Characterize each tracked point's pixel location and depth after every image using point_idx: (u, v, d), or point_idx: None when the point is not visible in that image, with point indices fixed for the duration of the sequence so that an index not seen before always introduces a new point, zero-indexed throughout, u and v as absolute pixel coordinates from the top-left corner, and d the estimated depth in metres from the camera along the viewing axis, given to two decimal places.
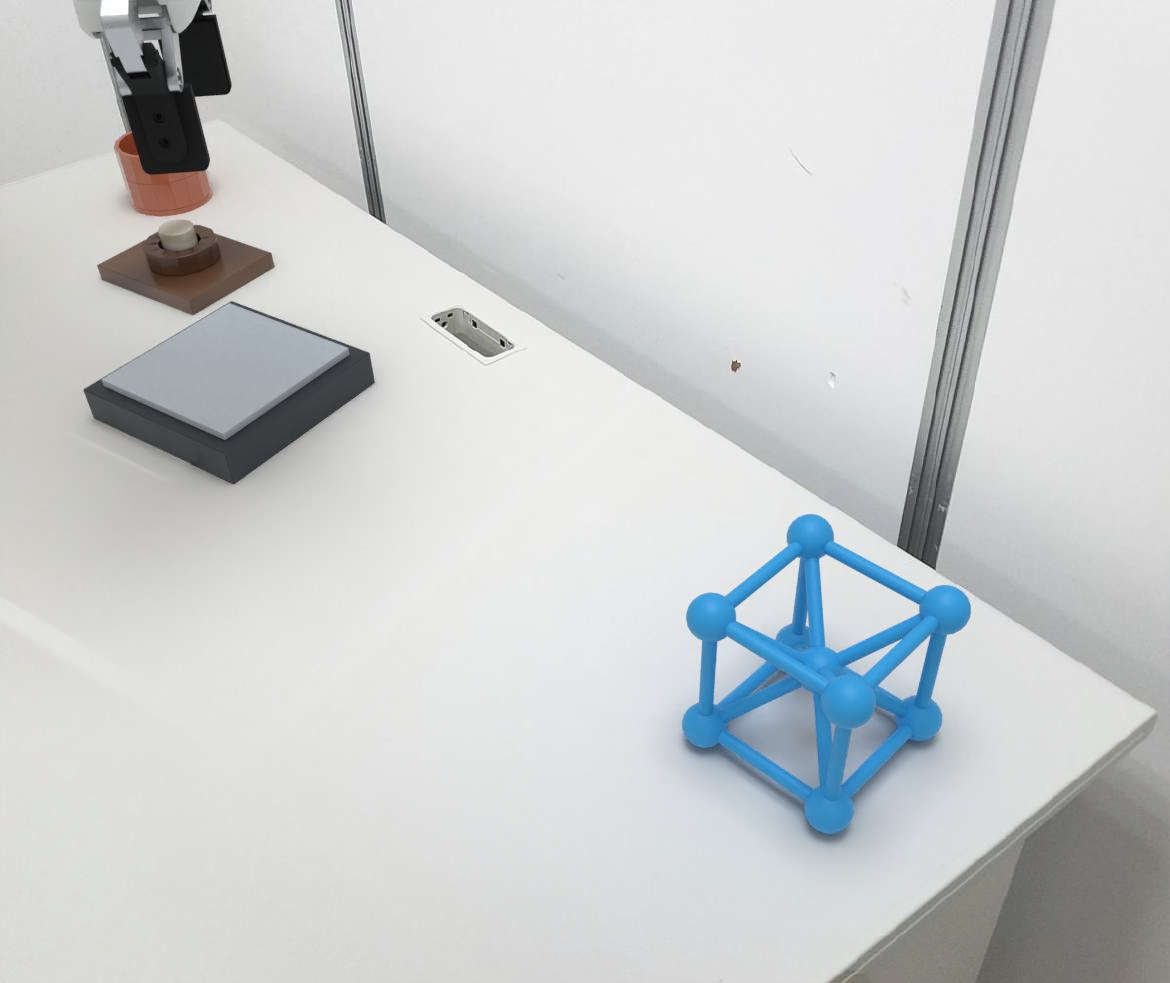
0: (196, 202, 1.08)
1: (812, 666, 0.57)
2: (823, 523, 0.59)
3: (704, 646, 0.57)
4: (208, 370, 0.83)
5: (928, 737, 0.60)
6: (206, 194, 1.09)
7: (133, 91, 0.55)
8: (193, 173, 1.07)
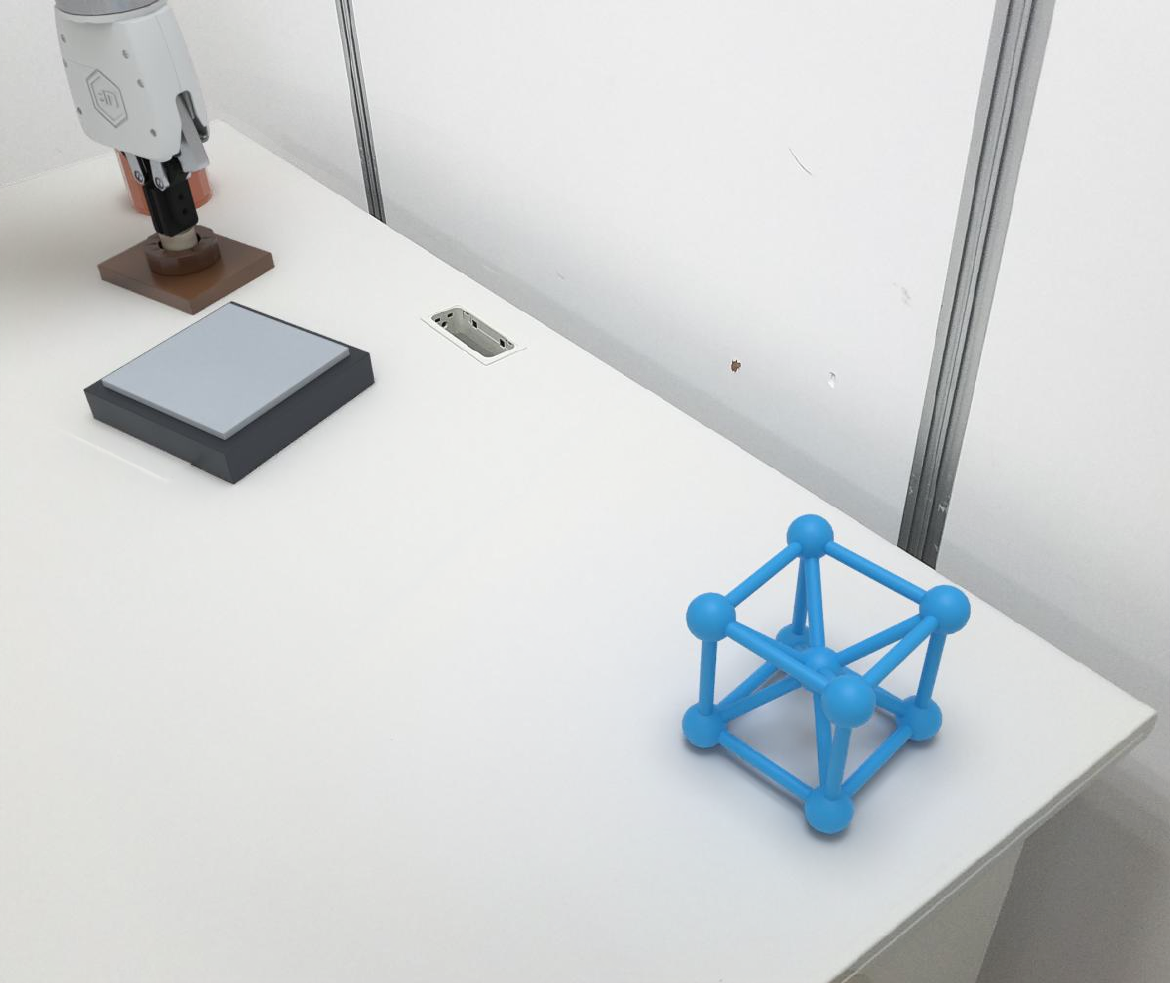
0: (196, 202, 1.08)
1: (812, 666, 0.57)
2: (823, 523, 0.59)
3: (704, 646, 0.57)
4: (208, 370, 0.83)
5: (928, 737, 0.60)
6: (206, 194, 1.09)
7: (171, 185, 0.93)
8: (193, 173, 1.07)
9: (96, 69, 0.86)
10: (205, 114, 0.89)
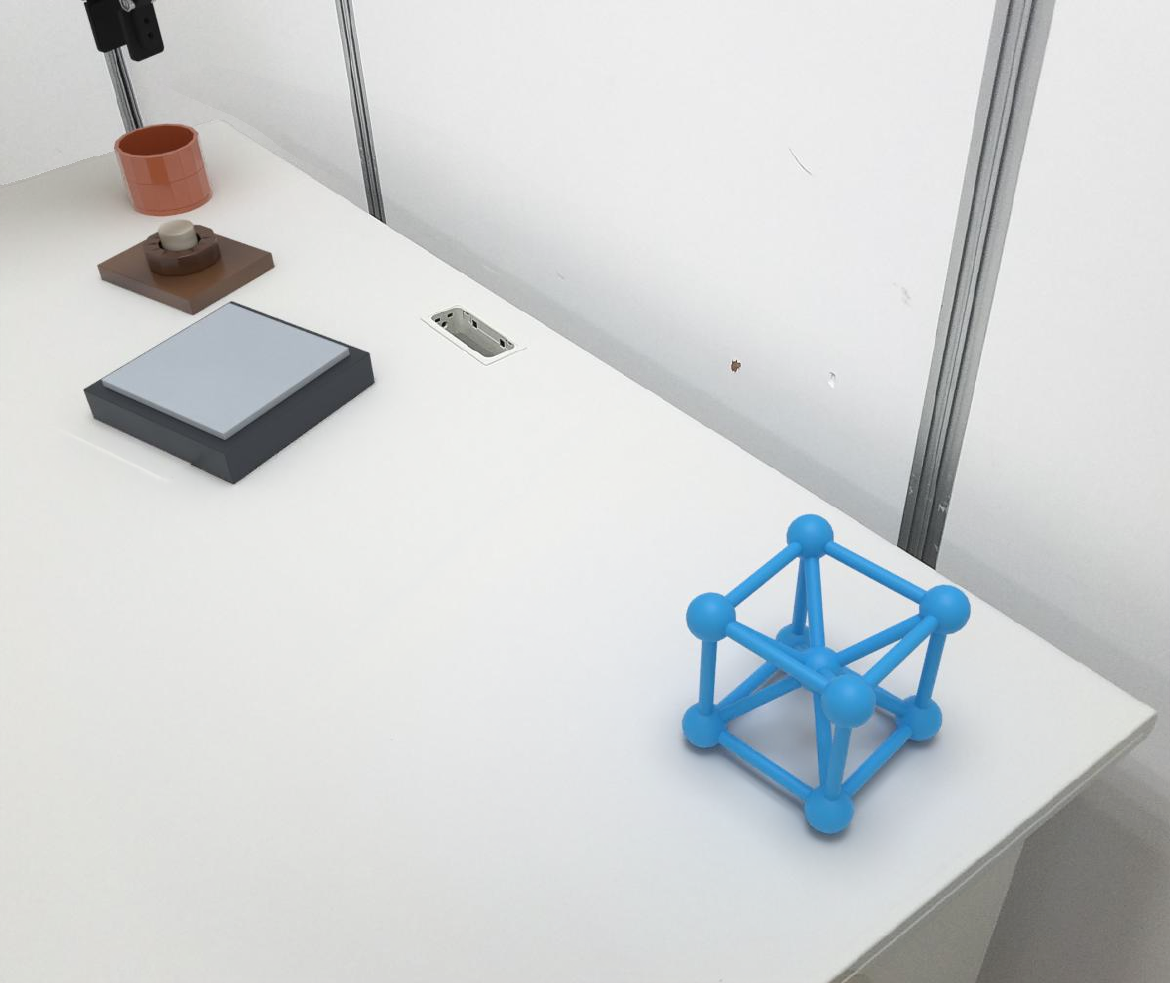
0: (196, 202, 1.08)
1: (812, 666, 0.57)
2: (823, 523, 0.59)
3: (704, 646, 0.57)
4: (208, 370, 0.83)
5: (928, 737, 0.60)
6: (206, 194, 1.09)
7: (136, 6, 0.96)
8: (193, 173, 1.07)
9: None
10: None
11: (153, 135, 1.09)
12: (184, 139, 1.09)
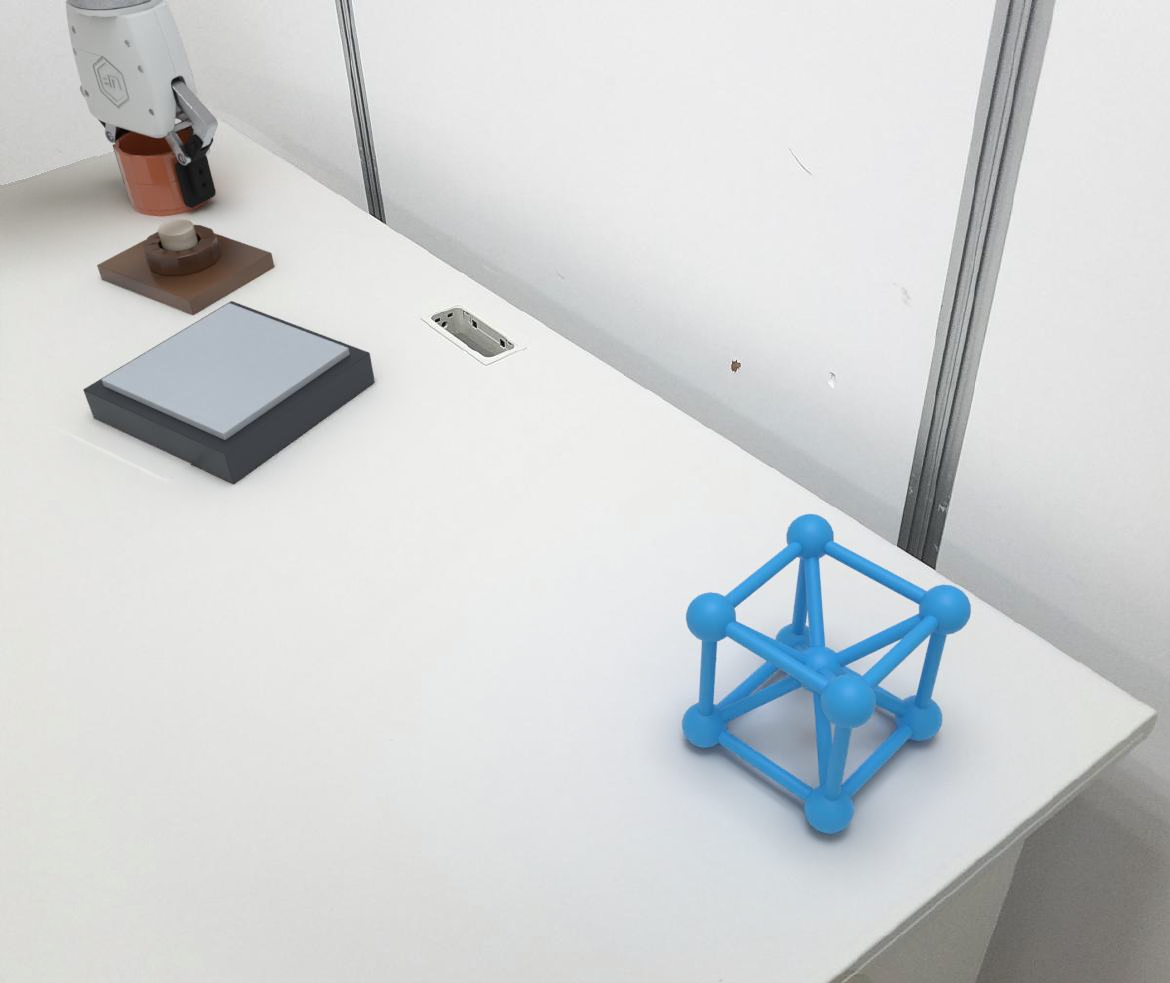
0: None
1: (812, 666, 0.57)
2: (823, 523, 0.59)
3: (704, 646, 0.57)
4: (208, 370, 0.83)
5: (928, 737, 0.60)
6: None
7: (192, 160, 1.04)
8: None
9: (102, 56, 0.99)
10: (196, 96, 1.02)
11: None
12: (184, 139, 1.09)
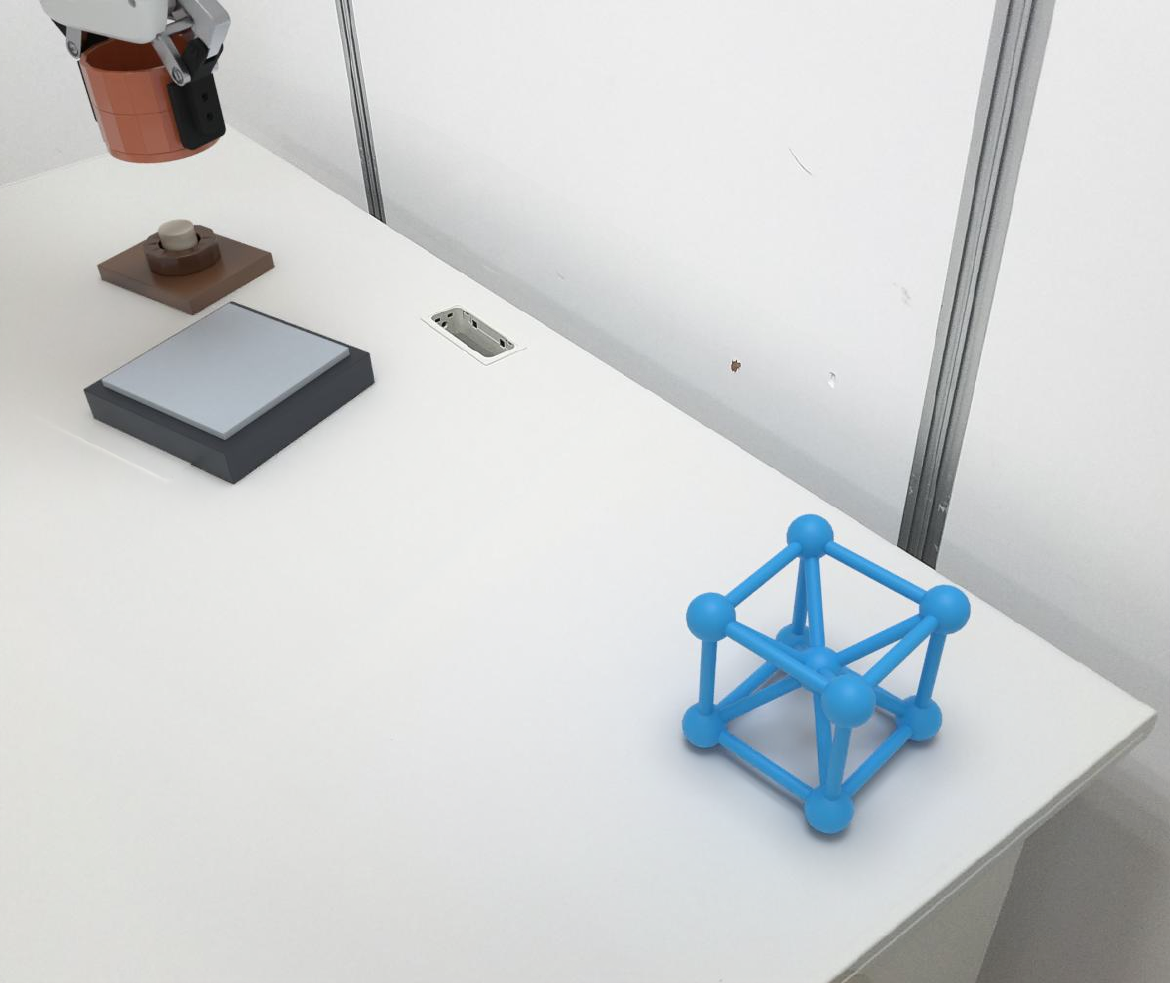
0: None
1: (812, 666, 0.57)
2: (823, 523, 0.59)
3: (704, 646, 0.57)
4: (208, 370, 0.83)
5: (928, 737, 0.60)
6: None
7: (192, 79, 0.71)
8: None
9: None
10: None
11: (136, 48, 0.76)
12: (181, 53, 0.76)
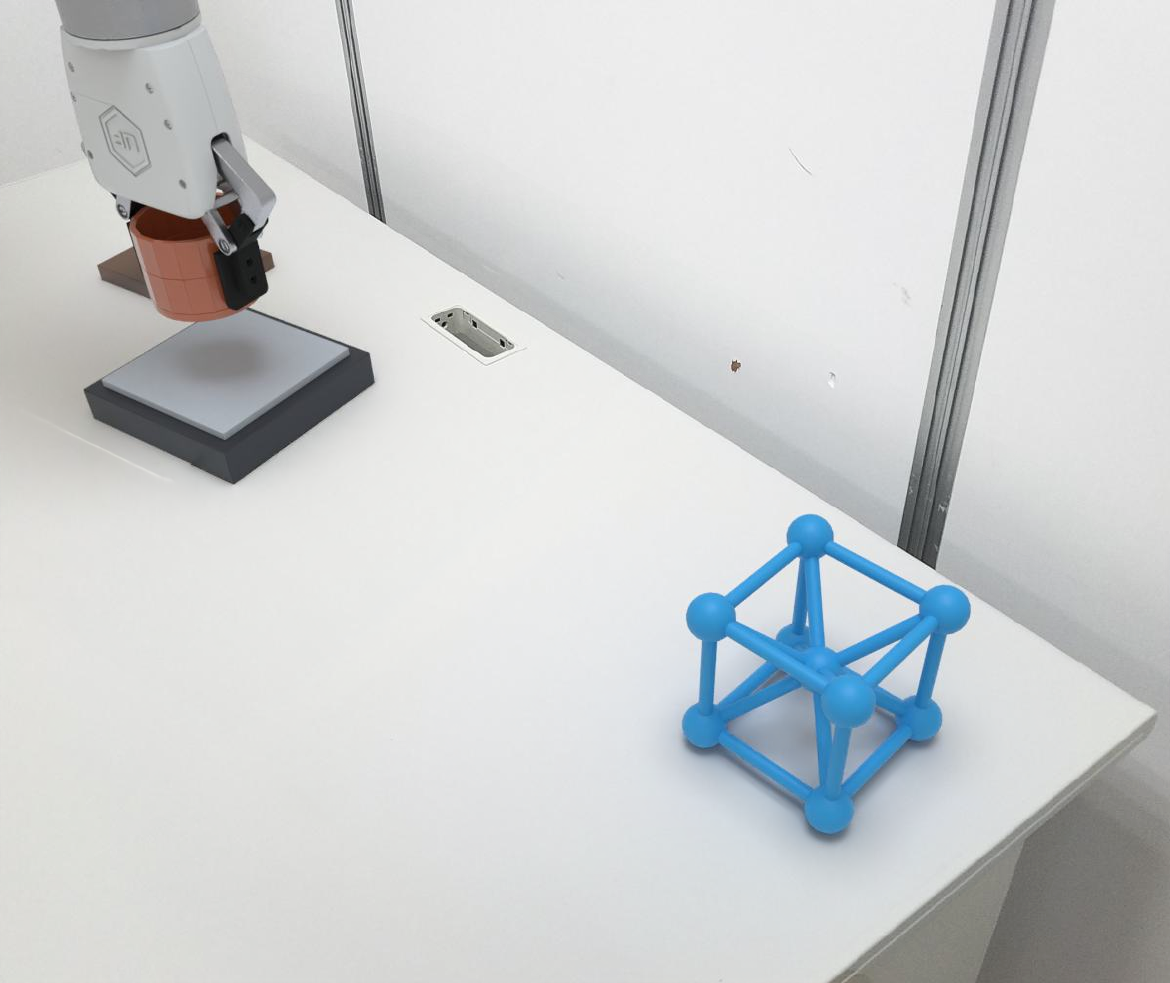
0: None
1: (812, 666, 0.57)
2: (823, 523, 0.59)
3: (704, 646, 0.57)
4: (208, 370, 0.83)
5: (928, 737, 0.60)
6: None
7: (238, 248, 0.74)
8: None
9: (113, 105, 0.69)
10: (246, 160, 0.72)
11: None
12: (225, 213, 0.79)
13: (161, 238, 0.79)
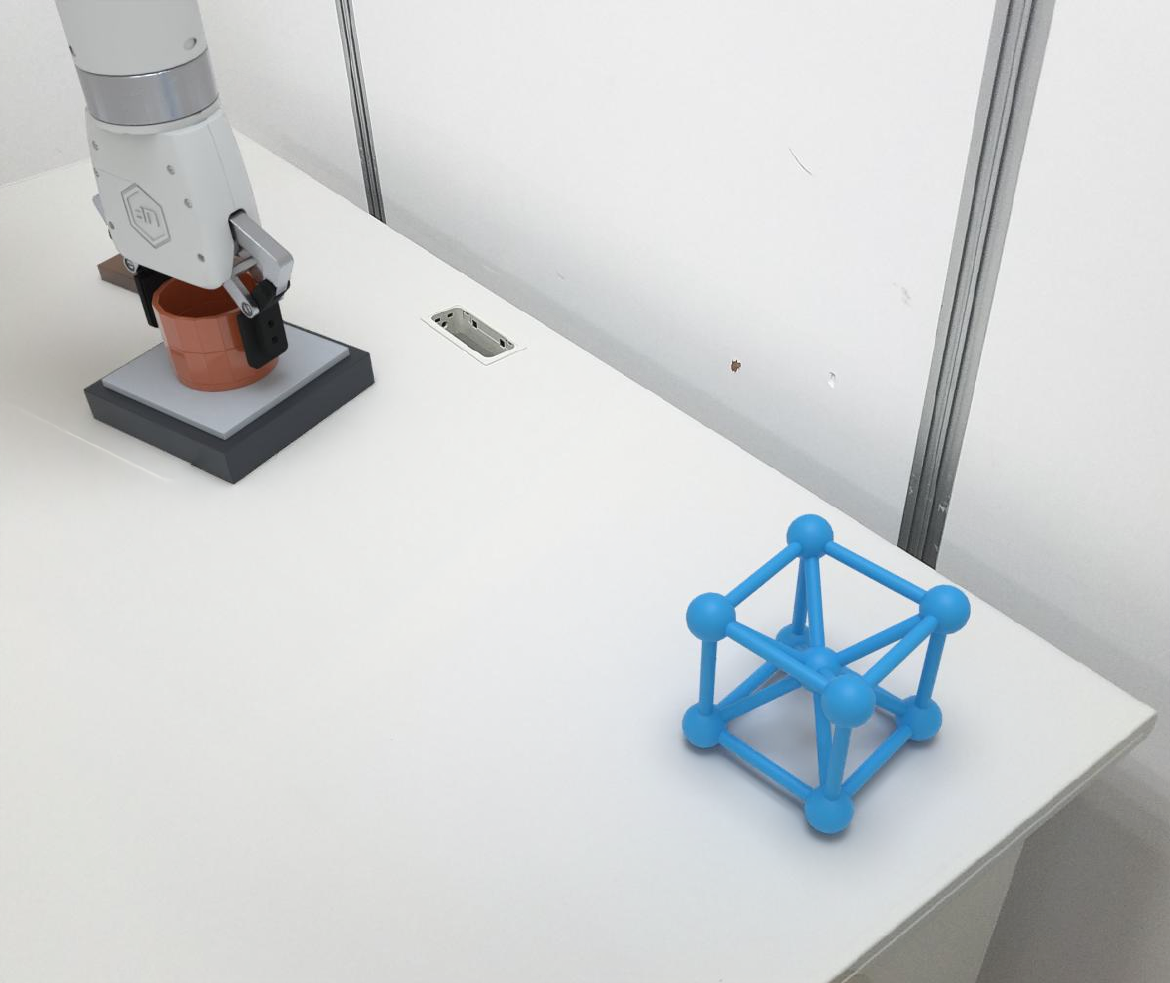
0: (260, 370, 0.82)
1: (812, 666, 0.57)
2: (823, 523, 0.59)
3: (704, 646, 0.57)
4: None
5: (928, 737, 0.60)
6: None
7: (261, 311, 0.76)
8: None
9: (135, 183, 0.73)
10: None
11: None
12: None
13: (181, 310, 0.83)
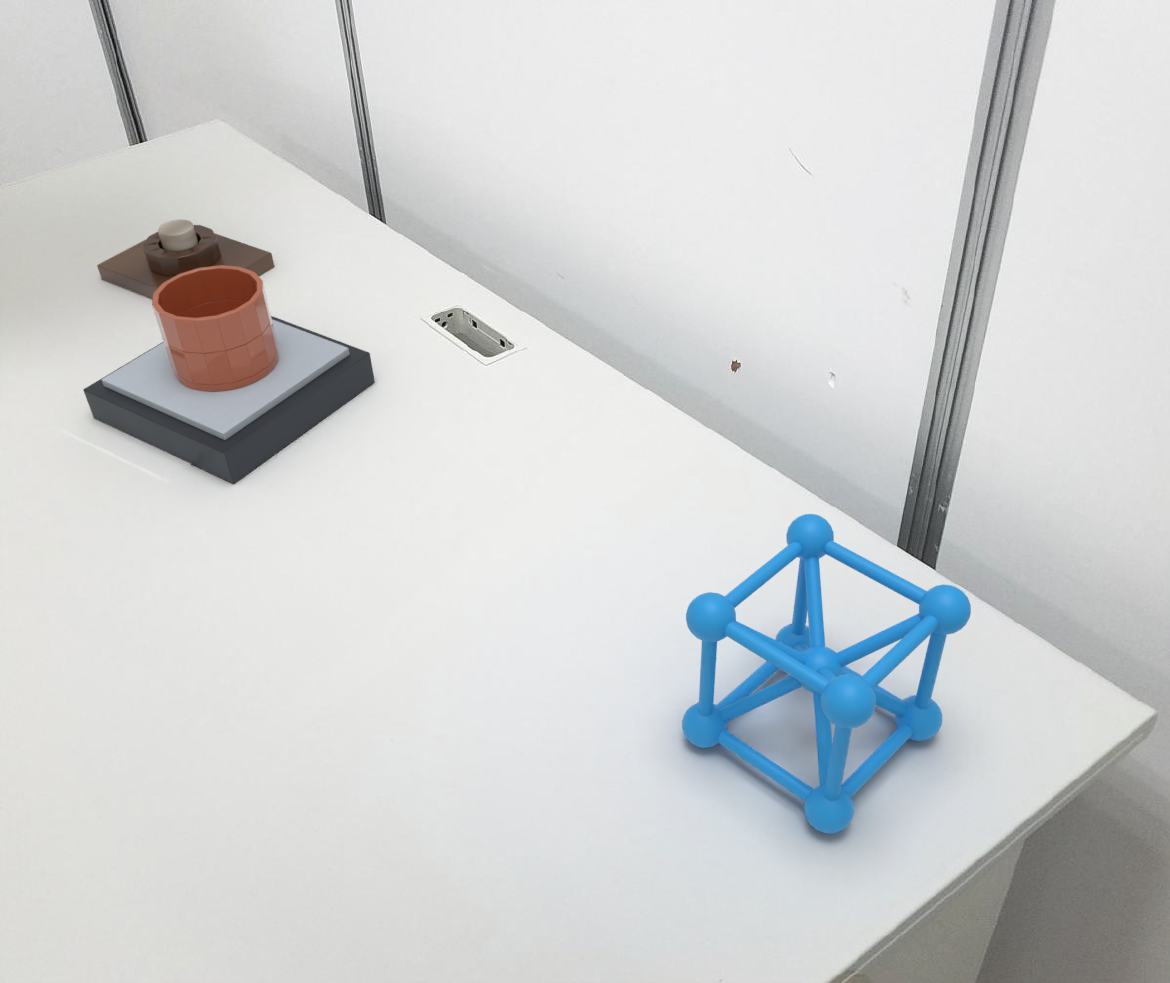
0: (260, 370, 0.82)
1: (812, 666, 0.57)
2: (823, 523, 0.59)
3: (704, 646, 0.57)
4: None
5: (928, 737, 0.60)
6: (272, 359, 0.83)
7: None
8: (257, 336, 0.80)
9: None
10: None
11: (201, 281, 0.83)
12: (243, 286, 0.83)
13: (181, 310, 0.83)
